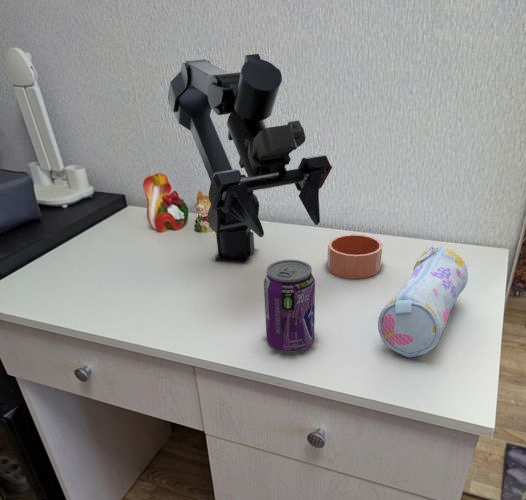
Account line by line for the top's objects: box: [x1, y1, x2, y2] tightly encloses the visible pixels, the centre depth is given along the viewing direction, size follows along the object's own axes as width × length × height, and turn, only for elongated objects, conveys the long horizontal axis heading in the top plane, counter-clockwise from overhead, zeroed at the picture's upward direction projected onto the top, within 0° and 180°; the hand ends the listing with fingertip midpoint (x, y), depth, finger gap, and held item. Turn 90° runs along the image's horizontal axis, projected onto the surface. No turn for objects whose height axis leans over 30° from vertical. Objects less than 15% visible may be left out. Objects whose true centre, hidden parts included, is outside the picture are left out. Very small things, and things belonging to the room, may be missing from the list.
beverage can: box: [263, 259, 316, 353], centre depth 70 cm, size 7×7×12 cm
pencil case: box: [377, 245, 469, 358], centre depth 73 cm, size 21×9×10 cm, turn 151°
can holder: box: [326, 233, 384, 280], centre depth 92 cm, size 10×10×4 cm
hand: (290, 229), depth 73 cm, fingers open, 9 cm apart
